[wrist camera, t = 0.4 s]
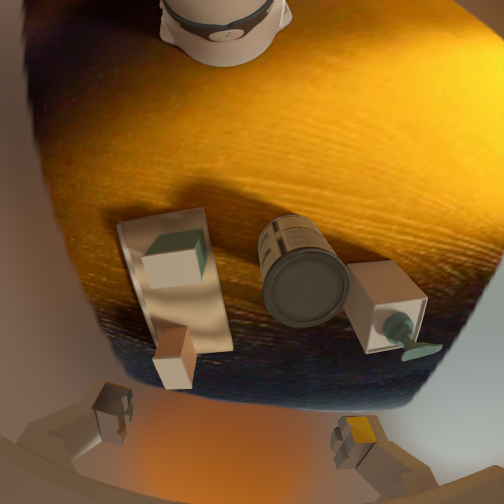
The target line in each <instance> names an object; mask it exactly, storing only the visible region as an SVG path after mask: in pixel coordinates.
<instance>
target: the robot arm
mask: <svg viewBox="0 0 504 504" xmlns="http://www.w3.org/2000/svg"><path fill="white" fill-rule="evenodd" d="M160 8H161V9H163V13H162V17H161V28H160V37H161V39H162V40H163V41H164V42H167V43H169V44H172V45H176V46H178V47H180V48H181V49H182V50H183V51H184V52H185V53H187V54H188V55H189V56H190V57H192V58H193V59H195V60H197V61H199V62H201V63H203V64H207V65H211V66H218V67H228V66H235V65H240V64H243V63H246V62H248V61H250V60H252V59H254V58H256V57H257V56H259V55H260V54H261V53H263V52H264V51H265V50H266V49H267V48H268V46H269V45H270V44H271V42H272V40H273V39H274V37H275V35H276V34H277V32H278V31H280V30H281V29H283V28H284V27H286V26H287V25H288V24H289V23H290V22H291V20H292V14H291V12H290V9H289V7H288V5H287V3H286V1H285V0H161V1H160ZM132 397H133V393H132V389H129V388H126V387H123V386H119V385H116V384H113V383H109V382H106V381H103V380H100V379H97V378H95V379H94V380H93V381H92V382H91V384H90V386H89V388H88V389H87V391H86V393H85V394H84V396H83V397H82V399H81V401H80V402H79V404H76V403H75V404H72V405H70V406H68V407H65V408H63V409H61V410H58V411H56V412H54V413H51V414H49V415H47V416H44V417H42V418H39V419H37V420H34V421H32V422H30V423H29V424H28V426H27V427H26V429H25V430H24V432H23V433H22V435H21V436H20V438H19V439H18V441H17V442H16V443H14V442H12V441H11V440H9V439H7V438H6V437H4V436H2V435H0V504H188V503H182V502H176V501H171V500H166V499H162V498H157V497H153V496H148V495H145V494H141V493H136V492H133V491H129V490H126V489H122V488H119V487H116V486H113V485H109V484H106V483H104V482H100V481H98V480H95V479H92V478H89V477H87V476H84V475H81V474H79V473H77V472H76V469H75V467H74V465H73V463H72V461H73V460H74V459H76V458H77V457H79V456H80V455H82V454H83V453H85V452H86V451H88V450H89V449H91V448H92V447H94V446H95V445H97V444H98V443H99V442H101V441H102V440H104V441H107V442H110V443H114V444H117V445H121V446H122V445H123V443H124V440H125V437H126V434H127V431H126V427H128V426H130V423H131V421H132V417H133V409H134V407H133V403H132V402H131V399H132ZM338 425H339V426H338V427H336V428H335V429H334V430H333V432H332V434H331V438H330V445H331V449H332V450H333V451H334V452H335V453H336V455H335V457H334V461H335V464H336V468H337V470H341V469H355V470H356V471H357V472H358V473H359V474H360V475H361V476H362V477H363V478H364V479H365V480H366V481H367V482H368V483H369V484H370V485H371V486H372V487H373V488H374V489H375V490H376V491H377V492H378V493H379V494H380V495H381V496H380V497H379V498H378V499H377V500H376V501H375V502H374V503H367V504H504V468H502V467H500V466H497V465H494V466H491V467H488V468H486V469H483V470H481V471H479V472H476V473H474V474H471V475H469V476H466V477H464V478H461V479H458V480H456V481H453V482H450V483H447V484H444V485H441V486H439V485H438V483H437V482H436V479H435V477H434V475H433V473H432V472H431V469H430V467H429V466H427V465H426V464H424V463H422V462H421V461H420V460H418V459H416V458H415V457H414V456H412V455H411V454H409V453H408V452H406V451H405V450H403V449H402V448H401V447H399V446H398V445H396V444H395V443H393V442H392V441H388V439H387V437H386V435H385V432H384V430H383V428H382V426H381V424H380V422H379V420H378V418H377V416H376V415H365V416H342V417H341V418H340V419H339V421H338Z"/></svg>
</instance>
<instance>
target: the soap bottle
mask: <svg viewBox="0 0 504 504" xmlns="http://www.w3.org/2000/svg"><path fill="white" fill-rule="evenodd" d="M347 270H348V272H349V275H350V292H349V296H348V298H347V300H346V302H345V304H344V305H343V308H344V310H345V312H346V314H347V316H348V318H349V320H350V322H351V324H352V326H353V328H354V330H355V332H356V334H357V337H358V339H359V341H360V343H361V345H362V347H363V349H364V351H365V353H366V354H368V353H374V352H380V351H385V350H391V349H396V348H401V347H403V348H404V350H405V352H404V353H403V354H402V356H401V360H402V361H407V360H410V359H414V358H419V357H421V356H426V355H430V354H433V353H435V352H438V351H439V350H441V348H442V346H443V345H441V344H438V345H434V344H429V343H422V342H420V343H416V340H417V336H418V333H419V330H420V326H421V322H422V319H423V315H424V311H425V307H426V303H427V299H428V298H427V296H426V295H425V294H424V293H423V292H422V291H421V290H420V289H419V288H418V286H417V285H416V284H415V283H414V282H413V281H412V280H411V279H410V278H409V277H408V276H407V275H406V274H405V273H404V272H403V271H402V270H401V269H400V268H399V267H398V266H397V265H396V264H395V263H394V262H393V261H392V260H387V261H376V262H364V263H351V264H347Z"/></svg>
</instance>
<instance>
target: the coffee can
mask: <svg viewBox="0 0 504 504" xmlns="http://www.w3.org/2000/svg"><path fill="white" fill-rule="evenodd" d="M258 254H259V260H260V268H261V277H262V285H263V287H262V295H263V301H264V304H265V307H266V309H267V310H268V312H269V313H270V314H271V316H273V317H274V318H275V319H276V320H278V321H279V322H281V323H283V324H285V325H288V326H292V327H310V326H315V325H318V324H321V323H323V322H325V321H327V320H329V319H330V318H332V317H333V316H334V315H336V314H337V313H338V312H339V311H340V309H341V308H342V307H343V305H344V304H345V302H346V300H347V298H348V296H349V292H350V275H349V272H348V270H347V268H346V266H345V264H344V263H343V262H342V261H341V260H340V259H339V258H338V256H337V255H336V254H335V252H334V251H333V249H332V248H331V246H330V245H329V244H328V242H327V241H326V239H325V238H324V237H323V235H322V234H321V232H320V231H319V229H318V227H317V226H316V225H315V224H314V223H313V222H312V221H311V220H309V219H307V218H305V217H303V216H299V215H284V216H280V217H278V218H276V219H274V220H272V221H271V222H270V223H268V224H267V225H266V226H265V228H264V229H263V231H262V232H261V234H260V237H259V240H258Z"/></svg>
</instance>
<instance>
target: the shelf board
mask: <svg viewBox="0 0 504 504" xmlns="http://www.w3.org/2000/svg"><path fill="white" fill-rule="evenodd" d="M115 226H116V230H117V234H118V237H119V241H120V245H121V248H122V251H123V255H124V258H125V261H126V265H127V268H128V271H129V274H130V277H131V280H132V283H133V286H134V289H135V292H136V295H137V298H138V301H139V304H140V307H141V310H142V312H143V315H144V318H145V320H146V323H147V326H148V328H149V331H150V334H151V336H152V339H153V341H154V344H155V346H156V349H157V347H158V344H159V341H160V338H161V335H162V333H163V330H164V328H173V327H185V326H188V329H189V332H190V335H191V338H192V341H193V345H194V348H195V351H196V354H198V353H211V352H222V351H232V350H233V342H232V338H231V334H230V329H229V325H228V320H227V316H226V311H225V307H224V302H223V297H222V293H221V288H220V283H219V278H218V274H217V269H216V264H215V259H214V254H213V249H212V244H211V239H210V234H209V228H208V223H207V218H206V213H205V207H199V208H193V209H187V210H181V211H175V212H169V213H164V214H158V215H152V216H147V217H141V218H136V219H131V220H126V221H121V222H119V223H118V224H116V225H115ZM201 228H203V233H204V238H205V243H206V248H207V253H208V258H207V262H206V266H205V270H204V273H203V277H202V280H203V281H202V283H199V284H190V285H182V286H173V287H165V288H156V289H151V288H150V285H149V282H148V278H147V275H146V272H145V268H144V265H143V262H142V258H141V257H142V255H144V254H145V253H146V252H147V250H148V249H149V248H150V246H151V245H152V244H153V242H154V241H155V240H156V238H157V237H158V236H159V235H163V234H169V233H175V232H182V231H188V230H195V229H201Z"/></svg>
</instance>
